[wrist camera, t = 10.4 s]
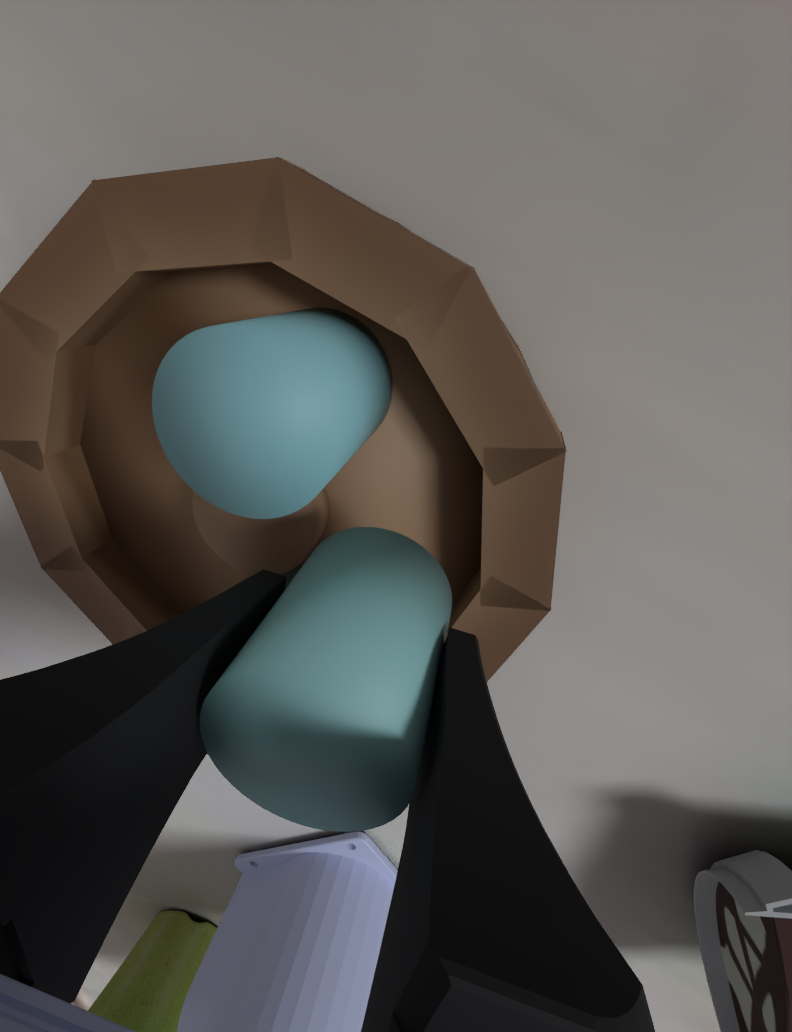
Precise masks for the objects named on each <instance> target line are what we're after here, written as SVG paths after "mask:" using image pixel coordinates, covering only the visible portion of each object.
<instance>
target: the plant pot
mask: <svg viewBox="0 0 792 1032" xmlns="http://www.w3.org/2000/svg"><path fill="white" fill-rule="evenodd" d="M216 930H217V927H215V926H214V925H212V924H210V923H208V922H203V923H198V922H195V921H193V920H192V919H191V918H190V917H189V916H188V914H187V913H185V912H182V911H163V912H161V913H159V914H158V915H157V916H156V917H155V918H154V920H153V921H152V923H151V924H150V925H149V927H148V928H147V930H146V931H145V932H144V934H143V935H142V937H141V938H140V940H139V941H138V942H137V944H136V945H135V947H134V948H133V949H132V951H131V952H130V954H129V955H128V956H127V958H126V959H125V961H124V962H123V963H122V965H121V966H120V967H119V969H118V970H117V972H116V973H115V974H114V976H113V977H112V979H111V980H110V981H109V983H108V984H107V985H106V987H105V988H104V990H103V991H102V992H101V994H100V995H99V996H98V998H97V999H96V1001H95V1002H94V1003H93V1005H92V1006H91V1007H90V1009H89V1010H88V1011H89V1012H91V1013H93V1014H96V1015H98V1016H100V1017H103V1018H105V1019H107V1020H110V1021H112V1022H115V1023H117V1024H119V1025H122V1026H124V1027H126V1028H129V1029H131V1030H133V1031H136V1032H177V1028H178V1023H179V1018H180V1014H181V1011H182V1007H183V1004H184V1001H185V998H186V996H187V993H188V991H189V988H190V986H191V984H192V982H193V980H194V977H195V975H196V973H197V971H198V969H199V967H200V964H201V962H202V960H203V958H204V956H205V954H206V951H207V949H208V947H209V945H210V943H211V941H212V938H213V936H214V934H215V932H216Z"/></svg>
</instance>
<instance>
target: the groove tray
mask: <svg viewBox="0 0 792 1032" xmlns="http://www.w3.org/2000/svg"><path fill="white" fill-rule="evenodd" d="M310 308H330V309H336V310H339V311H342V312H345V313H347V314H349V315H351V316H353V317H355V318H356V319H358V320H359V321H361V322H362V323H363V324H364V325H365V326H367V327H368V328H369V329H370V330H371V331H372V333H373V334H374V335H375V336H376V337H377V339H378V340H379V342H380V343H381V345H382V347H383V348H384V350H385V352H386V355H387V357H388V360H389V363H390V367H391V371H392V378H393V392H392V400H391V403H390V407H389V410H388V412H387V415H386V417H385V418H384V420H383V422H382V424H381V425H380V426H379V427H378V429H377V430H376V431H375V432H374V433H373V434H372V435H371V436H370V437H369V439H368V440H367V441H366V442H365V443H364V444H363V445H362V446H361V447H360V449H359V450H358V451H357V452H356V453H355V454H354V455H353V456H352V457H351V458H350V460H349V461H348V462H347V463H346V464H345V465H344V466H343V467H342V468H341V469H340V471H339V472H338V473H337V474H336V475H335V476H334V477H333V478H332V479H331V480H330V482H329V483H328V484H327V485H326V486H325V487H324V488H323V489H322V490H321V491H320V493H319V494H318V495H317V496H316V497H315V498H314V499H313V500H312V501H311V502H309V503H308V504H307V505H306V506H304V507H303V508H301V509H300V510H298V511H296V512H294V513H291V514H289V515H286V516H282V517H278V518H272V519H254V518H247V517H242V516H238V515H235V514H232V513H229V512H227V511H224V510H222V509H220V508H218V507H216V506H214V505H213V504H211V503H210V502H208V501H206V500H205V499H204V498H202V497H201V496H200V495H198V494H197V493H196V492H195V491H194V490H193V489H192V488H191V487H189V486H188V485H187V484H186V483H185V481H184V480H183V479H182V478H181V477H180V476H179V474H178V473H177V472H176V470H175V469H174V468H173V466H172V465H171V463H170V461H169V460H168V458H167V456H166V454H165V453H164V450H163V448H162V446H161V444H160V441H159V438H158V435H157V432H156V429H155V424H154V419H153V412H152V391H153V385H154V380H155V377H156V373H157V370H158V368H159V366H160V364H161V362H162V360H163V358H164V357H165V355H166V354H167V352H168V351H169V350H170V349H171V348H172V347H173V346H174V344H175V343H176V342H178V341H179V340H180V339H182V338H183V337H184V336H186V335H188V334H190V333H192V332H194V331H196V330H198V329H202V328H205V327H208V326H214V325H220V324H225V323H231V322H237V321H242V320H248V319H254V318H259V317H265V316H270V315H276V314H282V313H287V312H293V311H299V310H304V309H310ZM565 452H566V448H565V444H564V440H563V436H562V432H561V431H560V430H559V428H558V426H557V424H556V422H555V420H554V418H553V417H552V415H551V413H550V411H549V409H548V407H547V405H546V403H545V401H544V400H543V398H542V396H541V394H540V392H539V390H538V388H537V386H536V384H535V383H534V380H533V378H532V376H531V374H530V371H529V369H528V367H527V365H526V362H525V360H524V358H523V356H522V353H521V351H520V349H519V347H518V346H517V344H516V343H515V341H514V339H513V338H512V336H511V334H510V333H509V331H508V330H507V328H506V326H505V325H504V323H503V322H502V320H501V318H500V317H499V315H498V313H497V311H496V309H495V307H494V305H493V303H492V301H491V300H490V298H489V296H488V294H487V292H486V290H485V288H484V286H483V284H482V283H481V281H480V279H479V277H478V275H477V273H476V271H475V268H474V267H471V266H469V265H468V264H466V263H464V262H462V261H461V260H459V259H457V258H456V257H454V256H452V255H450V254H449V253H447V252H445V251H443V250H442V249H440V248H438V247H436V246H435V245H433V244H431V243H430V242H428V241H426V240H424V239H423V238H421V237H419V236H417V235H416V234H414V233H412V232H411V231H409V230H408V229H406V228H405V227H403V226H402V225H401V224H399V223H397V222H395V221H393V220H391V219H389V218H387V217H385V216H383V215H381V214H379V213H378V212H376V211H374V210H372V209H371V208H369V207H367V206H366V205H364V204H362V203H360V202H359V201H357V200H355V199H353V198H352V197H350V196H348V195H346V194H345V193H343V192H341V191H340V190H338V189H336V188H334V187H333V186H331V185H329V184H327V183H326V182H324V181H322V180H321V179H319V178H317V177H315V176H314V175H312V174H310V173H308V172H307V171H305V169H303V168H301V167H298V166H296V165H294V164H292V163H290V162H288V161H286V160H284V159H282V158H279V157H276V158H270V159H262V160H254V161H246V162H238V163H230V164H222V165H214V166H206V167H198V168H190V169H182V170H173V171H165V172H157V173H149V174H141V175H133V176H125V177H117V178H109V179H101V180H93V181H92V183H91V184H90V185H89V186H88V187H87V189H86V190H85V191H84V192H83V193H82V195H81V196H80V197H79V198H78V200H77V201H76V202H75V203H74V204H73V206H72V207H71V208H70V209H69V210H68V212H67V213H66V214H65V215H64V216H63V218H62V219H61V220H60V221H59V222H58V224H57V225H56V226H55V227H54V228H53V230H52V231H51V232H50V233H49V235H48V236H47V237H46V238H45V239H44V241H43V242H42V243H41V244H40V245H39V247H38V248H37V249H36V250H35V251H34V253H33V254H32V255H31V256H30V257H29V259H28V260H27V261H26V262H25V263H24V265H23V266H22V267H21V268H20V270H19V271H18V272H17V273H16V274H15V276H14V277H13V278H12V279H11V280H10V282H9V283H8V284H7V285H6V286H5V288H4V289H3V290H2V291H1V292H0V471H1V473H2V475H3V478H4V480H5V482H6V485H7V487H8V490H9V492H10V494H11V497H12V499H13V501H14V504H15V506H16V508H17V511H18V513H19V516H20V518H21V520H22V523H23V525H24V527H25V530H26V532H27V534H28V537H29V539H30V542H31V544H32V546H33V549H34V551H35V553H36V556H37V558H38V561H39V563H40V565H41V568H42V569H43V570H44V571H45V572H46V573H47V574H48V575H49V576H50V577H51V578H52V579H53V580H54V582H55V583H56V584H57V585H58V586H59V587H60V588H61V589H62V590H63V591H64V592H65V593H66V594H67V596H68V597H69V598H70V599H71V600H72V601H73V602H74V603H75V604H76V605H77V606H78V607H79V608H80V609H81V611H82V612H83V613H84V614H85V615H86V616H87V617H88V618H89V619H90V620H91V621H92V622H93V623H94V625H95V626H96V627H97V628H98V629H99V630H100V631H101V632H102V633H103V634H104V635H105V636H106V637H107V639H108V640H109V641H110V642H111V643H112V644H116V643H118V642H121V641H124V640H126V639H129V638H131V637H133V636H136V635H138V634H141V633H143V632H145V631H147V630H150V629H152V628H154V627H156V626H158V625H160V624H162V623H164V622H166V621H168V620H171V619H173V618H175V617H177V616H179V615H181V614H183V613H185V612H187V611H189V610H191V609H192V608H194V607H196V606H198V605H200V604H202V603H204V602H206V601H207V600H209V599H211V598H213V597H215V596H217V595H218V594H220V593H222V592H224V591H226V590H227V589H229V588H231V587H233V586H234V585H236V584H238V583H240V582H241V581H243V580H245V579H247V578H248V577H250V576H252V575H253V574H256V573H258V572H259V571H261V570H263V569H264V570H267V571H270V572H273V573H277V574H283V573H286V572H288V571H290V570H292V569H294V568H295V567H297V568H300V569H301V568H302V566H303V565H304V564H305V562H306V561H307V559H308V558H309V557H310V555H311V554H312V553H313V551H314V550H315V549H316V548H317V546H318V545H319V544H320V543H321V542H323V541H324V540H325V539H326V538H328V537H329V536H331V535H333V534H335V533H337V532H340V531H342V530H345V529H350V528H355V527H377V528H383V529H387V530H391V531H395V532H397V533H400V534H402V535H405V536H406V537H408V538H410V539H412V540H414V541H415V542H417V543H418V544H420V545H421V546H422V547H424V548H425V549H426V550H427V551H428V552H429V553H430V554H431V555H432V556H433V557H434V558H435V559H436V560H437V561H438V563H439V564H440V566H441V567H442V569H443V570H444V572H445V574H446V576H447V579H448V581H449V584H450V588H451V593H452V609H451V615H450V620H449V625H448V630H447V634H448V631H449V628H450V627H451V628H454V629H457V630H460V631H464V632H467V633H470V634H473V635H476V637H477V639H478V641H479V649H480V655H481V660H482V665H483V670H484V674H485V678H486V682H487V681H488V680H489V679H490V678H491V677H492V676H493V675H494V673H495V672H496V671H497V670H498V669H499V668H500V667H501V665H502V664H503V663H504V662H505V661H506V660H507V659H508V658H509V656H510V655H511V654H512V653H513V652H514V651H515V650H516V649H517V647H518V646H519V645H520V644H521V643H522V642H523V641H524V639H525V638H526V637H527V636H528V635H529V634H530V633H531V632H532V630H533V629H534V628H535V627H536V626H537V625H538V624H539V622H540V621H541V620H542V619H543V618H544V617H545V616H546V615H547V613H548V612H549V611H550V610H551V598H552V588H553V577H554V566H555V556H556V545H557V535H558V524H559V514H560V503H561V492H562V482H563V471H564V461H565ZM446 637H447V635H446Z"/></svg>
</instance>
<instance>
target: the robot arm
mask: <svg viewBox="0 0 792 1032" xmlns="http://www.w3.org/2000/svg"><path fill="white" fill-rule="evenodd" d="M286 579H287V577H286V576H283V575H280V574H277V573H273V572H270V571H267V570H264V569H263V570H261V571H259V572H258V573H256V574H254V575H252V576H250V577H248V578H247V579H245V580H243V581H241V582H240V583H238V584H236V585H234V586H233V587H231V588H229V589H227V590H226V591H224V592H222V593H220V594H218V595H217V596H215V597H213V598H211V599H209V600H207V601H206V602H204V603H202V604H200V605H198V606H196V607H194V608H192V609H191V610H189V611H187V612H185V613H183V614H181V615H179V616H177V617H175V618H173V619H171V620H168V621H166V622H164V623H162V624H160V625H158V626H156V627H154V628H152V629H150V630H147V631H145V632H143V633H141V634H138V635H136V636H133V637H131V638H129V639H126V640H124V641H121V642H118V643H116V644H113V645H111V646H108V647H106V648H103V649H100V650H97V651H95V652H92V653H89V654H86V655H83V656H80V657H76V658H73V659H70V660H67V661H64V662H61V663H58V664H55V665H52V666H49V667H46V668H42V669H39V670H35V671H32V672H28V673H24V674H21V675H17V676H13V677H10V678H6V679H2V680H0V1032H136V1031H133V1030H131V1029H129V1028H126V1027H124V1026H122V1025H119V1024H117V1023H115V1022H112V1021H110V1020H107V1019H105V1018H103V1017H100V1016H98V1015H96V1014H93V1013H91V1012H89V1011H86V1010H84V1009H82V1008H79V1007H77V1006H75V1005H72V1004H70V1003H72V1002H73V1001H74V1000H75V999H76V997H77V995H78V992H79V990H80V988H81V986H82V984H83V982H84V980H85V978H86V976H87V974H88V972H89V970H90V968H91V966H92V964H93V962H94V960H95V958H96V956H97V954H98V952H99V950H100V948H101V946H102V944H103V942H104V940H105V938H106V936H107V934H108V932H109V930H110V928H111V926H112V924H113V922H114V920H115V918H116V916H117V914H118V912H119V910H120V908H121V906H122V905H123V903H124V901H125V899H126V897H127V895H128V893H129V891H130V889H131V887H132V885H133V883H134V882H135V880H136V878H137V876H138V874H139V872H140V870H141V868H142V866H143V864H144V862H145V861H146V859H147V857H148V855H149V853H150V851H151V850H152V848H153V846H154V844H155V842H156V840H157V839H158V837H159V835H160V833H161V831H162V829H163V828H164V826H165V824H166V822H167V820H168V818H169V817H170V815H171V813H172V811H173V809H174V808H175V806H176V804H177V802H178V801H179V799H180V797H181V795H182V794H183V792H184V790H185V788H186V787H187V785H188V783H189V781H190V779H191V778H192V776H193V774H194V773H195V771H196V769H197V768H198V766H199V765H200V763H201V762H202V760H203V759H204V757H205V755H206V754H207V750H206V748H205V746H204V743H203V740H202V737H201V731H200V713H201V708H202V705H203V703H204V700H205V698H206V697H207V695H208V694H209V692H210V691H211V689H212V688H213V687H214V685H215V684H216V683H217V681H218V680H219V679H220V677H221V676H222V675H223V673H224V672H225V670H226V669H227V668H228V666H229V665H230V664H231V662H232V661H233V660H234V658H235V657H236V656H237V654H238V653H239V652H240V650H241V649H242V647H243V646H244V645H245V643H246V642H247V641H248V639H249V638H250V637H251V635H252V634H253V633H254V631H255V630H256V629H257V627H258V626H259V624H260V623H261V622H262V620H263V619H264V618H265V616H266V615H267V614H268V612H269V611H270V610H271V608H272V607H273V605H274V604H275V603H276V601H277V600H278V599H279V597H280V596H281V595H282V593H283V592H284V591H285V588H286ZM234 865H235V866H236V868H237V869H238V870H239V871H240V872H241V873H242V876H241V878H240V880H239V882H238V884H237V886H236V889H235V891H234V893H233V895H232V897H231V899H230V902H229V904H228V906H227V908H226V910H225V912H224V915H223V917H222V919H221V921H220V923H219V925H218V928H217V930H216V932H215V934H214V936H213V938H212V941H211V943H210V945H209V947H208V949H207V951H206V954H205V956H204V958H203V960H202V962H201V964H200V967H199V969H198V971H197V973H196V975H195V977H194V980H193V982H192V984H191V986H190V988H189V991H188V993H187V996H186V998H185V1001H184V1004H183V1007H182V1011H181V1014H180V1018H179V1023H178V1028H177V1032H655V1030H654V1026H653V1022H652V1018H651V1015H650V1011H649V1007H648V1004H647V1000H646V996H645V993H644V989H643V986H642V984H641V982H640V981H639V979H638V978H637V977H636V975H635V974H634V972H633V971H632V969H631V968H630V966H629V965H628V964H627V962H626V961H625V959H624V958H623V956H622V955H621V953H620V952H619V951H618V949H617V948H616V946H615V945H614V943H613V942H612V940H611V939H610V938H609V936H608V935H607V933H606V932H605V930H604V929H603V928H602V926H601V925H600V923H599V922H598V920H597V919H596V917H595V915H594V914H593V912H592V911H591V909H590V907H589V906H588V904H587V903H586V901H585V899H584V898H583V896H582V894H581V893H580V891H579V890H578V888H577V886H576V885H575V883H574V882H573V880H572V878H571V876H570V875H569V873H568V871H567V869H566V867H565V866H564V864H563V862H562V860H561V858H560V857H559V855H558V853H557V851H556V850H555V848H554V846H553V844H552V842H551V841H550V839H549V837H548V835H547V833H546V832H545V830H544V828H543V826H542V824H541V822H540V820H539V818H538V816H537V814H536V812H535V810H534V808H533V806H532V804H531V802H530V800H529V798H528V795H527V793H526V791H525V789H524V787H523V784H522V782H521V780H520V778H519V775H518V773H517V771H516V768H515V766H514V763H513V761H512V758H511V756H510V753H509V751H508V748H507V745H506V743H505V740H504V737H503V735H502V732H501V729H500V726H499V723H498V720H497V717H496V713H495V710H494V707H493V704H492V700H491V697H490V694H489V690H488V686H487V682H486V678H485V674H484V670H483V665H482V660H481V655H480V649H479V641H478V639H477V637H476V635H473V634H470V633H467V632H464V631H460V630H457V629H454V628H451V627H450V628H449V631H448V634H447V637H446V640H445V643H444V647H443V652H442V657H441V662H440V667H439V672H438V677H437V682H436V688H435V694H434V698H433V703H432V708H431V713H430V718H429V723H428V728H427V733H426V738H425V743H424V747H423V752H422V757H421V762H420V767H419V772H418V777H417V782H416V787H415V791H414V794H413V797H412V799H411V801H410V804H409V811H408V819H407V826H406V832H405V838H404V844H403V849H402V854H401V858H400V863H399V867H398V870H397V869H396V868H395V866H394V865H393V864H392V863H391V862H390V861H389V860H388V858H387V857H386V856H385V855H384V854H383V853H382V851H381V850H380V849H379V848H378V847H377V846H376V845H375V843H374V842H373V841H372V840H371V839H370V838H369V836H368V835H366V834H365V833H363V832H351V833H346V834H341V835H336V836H331V837H326V838H321V839H316V840H311V841H305V842H300V843H295V844H290V845H285V846H280V847H275V848H270V849H265V850H259V851H254V852H249V853H244V854H240V855H237V857H236V859H235V861H234Z"/></svg>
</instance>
